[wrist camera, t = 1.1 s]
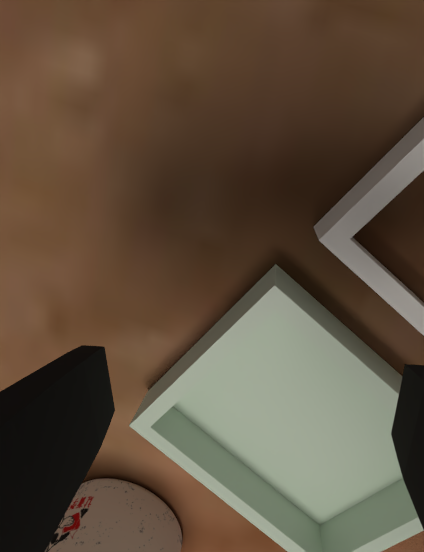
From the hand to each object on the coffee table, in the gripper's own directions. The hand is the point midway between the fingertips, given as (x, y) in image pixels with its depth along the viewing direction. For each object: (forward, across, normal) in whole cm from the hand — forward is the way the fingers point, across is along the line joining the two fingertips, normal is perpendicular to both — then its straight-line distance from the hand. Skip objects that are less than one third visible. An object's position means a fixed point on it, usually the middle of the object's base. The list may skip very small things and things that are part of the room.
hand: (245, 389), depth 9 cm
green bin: (+9, -2, +8) cm, 12 cm away
